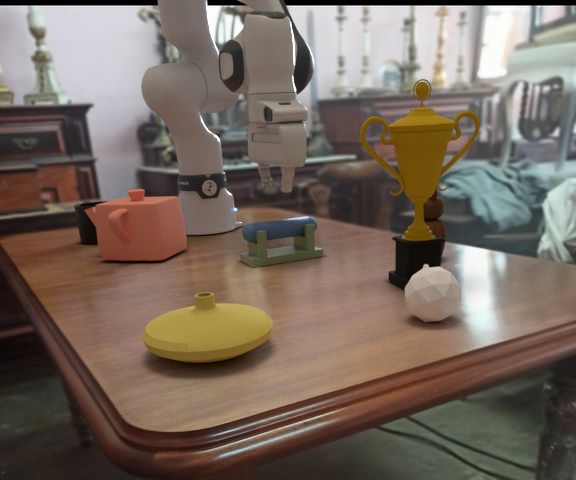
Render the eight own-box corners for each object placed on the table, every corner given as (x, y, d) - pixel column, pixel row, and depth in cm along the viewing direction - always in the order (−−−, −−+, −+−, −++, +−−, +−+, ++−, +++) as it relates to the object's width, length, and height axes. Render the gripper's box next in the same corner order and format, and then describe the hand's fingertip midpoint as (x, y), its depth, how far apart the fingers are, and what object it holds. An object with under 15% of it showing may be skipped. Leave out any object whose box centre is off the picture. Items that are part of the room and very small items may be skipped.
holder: (240, 260, 117) (237, 227, 115) (308, 250, 122) (306, 218, 120) (252, 267, 111) (249, 233, 109) (323, 256, 116) (322, 223, 114)
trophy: (455, 269, 101) (464, 78, 90) (486, 282, 92) (501, 73, 81) (350, 282, 97) (347, 84, 86) (373, 298, 88) (373, 79, 77)
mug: (133, 239, 145) (127, 202, 142) (83, 246, 141) (76, 207, 138) (126, 234, 153) (121, 198, 150) (79, 240, 149) (72, 203, 146)
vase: (180, 389, 62) (172, 326, 59) (124, 349, 74) (115, 295, 71) (300, 350, 70) (297, 293, 67) (232, 320, 82) (228, 271, 79)
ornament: (399, 327, 75) (387, 270, 78) (432, 332, 80) (420, 278, 83) (445, 308, 71) (431, 247, 73) (477, 315, 76) (463, 258, 78)
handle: (246, 244, 111) (244, 225, 110) (240, 242, 114) (238, 224, 113) (320, 234, 116) (319, 215, 115) (312, 232, 120) (311, 214, 118)
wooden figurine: (445, 263, 105) (449, 177, 100) (412, 264, 106) (414, 178, 101) (443, 255, 111) (447, 173, 106) (412, 255, 113) (414, 174, 107)
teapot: (198, 245, 134) (191, 182, 129) (152, 269, 114) (142, 196, 109) (121, 245, 139) (111, 185, 134) (65, 268, 120) (51, 198, 114)
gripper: (237, 112, 114) (242, 185, 120) (278, 111, 97) (282, 196, 102) (267, 111, 117) (271, 183, 122) (312, 109, 99) (314, 193, 105)
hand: (276, 189), depth 112 cm, fingers open, 8 cm apart
